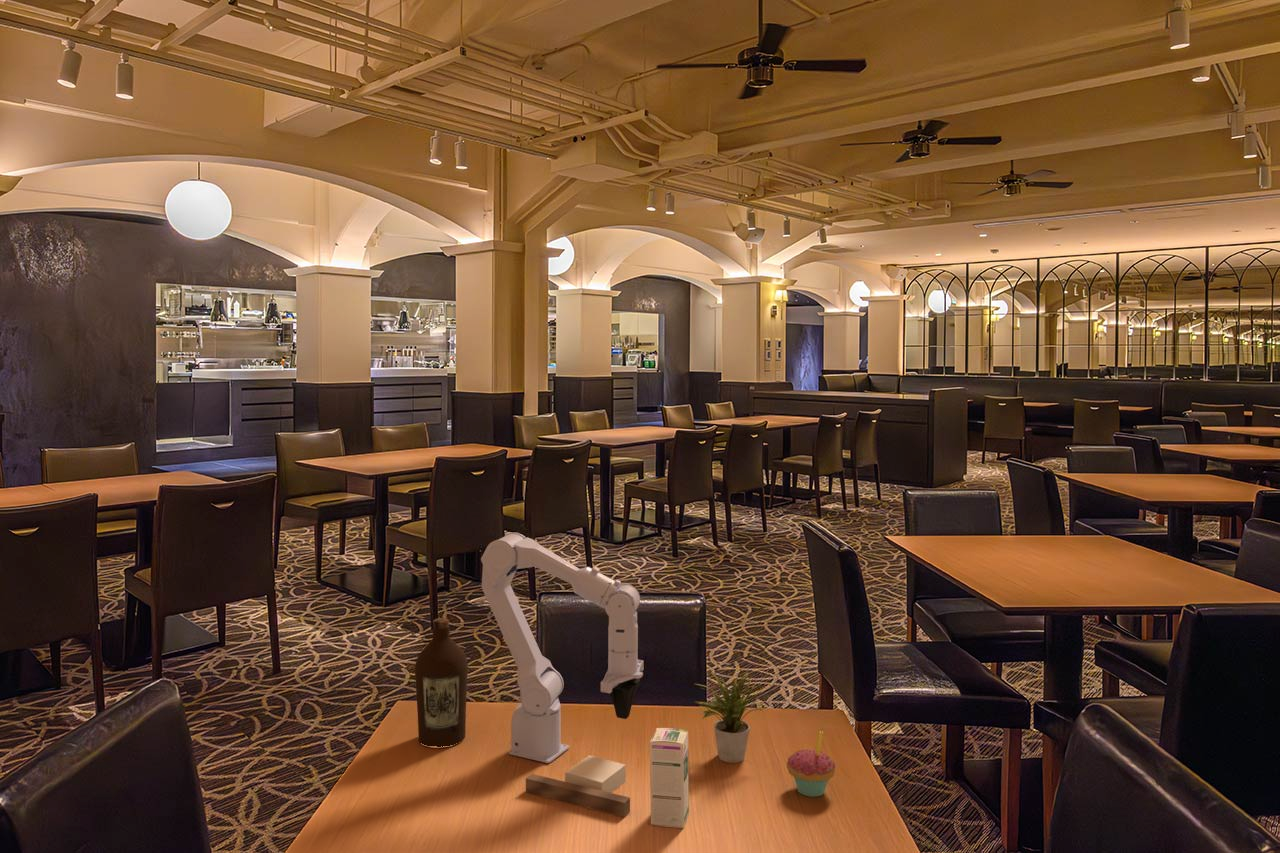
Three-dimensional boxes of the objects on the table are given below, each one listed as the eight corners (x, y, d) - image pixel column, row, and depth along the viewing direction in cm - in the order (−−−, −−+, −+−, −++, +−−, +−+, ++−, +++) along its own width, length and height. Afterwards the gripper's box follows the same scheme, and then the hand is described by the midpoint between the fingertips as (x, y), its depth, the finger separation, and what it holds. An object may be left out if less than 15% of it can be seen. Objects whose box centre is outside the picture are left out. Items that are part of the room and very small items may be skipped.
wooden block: (565, 790, 150) (565, 771, 150) (589, 773, 157) (589, 755, 157) (602, 801, 146) (602, 782, 146) (625, 783, 153) (625, 764, 153)
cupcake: (836, 784, 152) (837, 720, 152) (832, 806, 144) (832, 738, 144) (790, 776, 155) (790, 713, 155) (782, 798, 147) (783, 731, 147)
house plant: (711, 733, 174) (711, 657, 173) (775, 746, 168) (775, 667, 167) (685, 761, 161) (685, 679, 161) (753, 776, 155) (753, 690, 155)
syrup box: (684, 829, 137) (684, 743, 136) (649, 825, 138) (649, 740, 137) (689, 811, 142) (689, 729, 142) (655, 808, 143) (655, 726, 143)
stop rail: (525, 791, 149) (525, 778, 149) (531, 787, 151) (531, 773, 151) (624, 817, 140) (624, 802, 140) (629, 811, 142) (630, 797, 142)
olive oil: (416, 731, 175) (415, 614, 174) (467, 726, 178) (466, 611, 176) (414, 752, 165) (413, 629, 164) (468, 747, 167) (467, 625, 166)
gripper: (624, 662, 153) (624, 734, 153) (657, 641, 166) (657, 707, 166) (590, 657, 156) (590, 727, 156) (626, 636, 169) (625, 701, 170)
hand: (622, 717), depth 162 cm, fingers closed
